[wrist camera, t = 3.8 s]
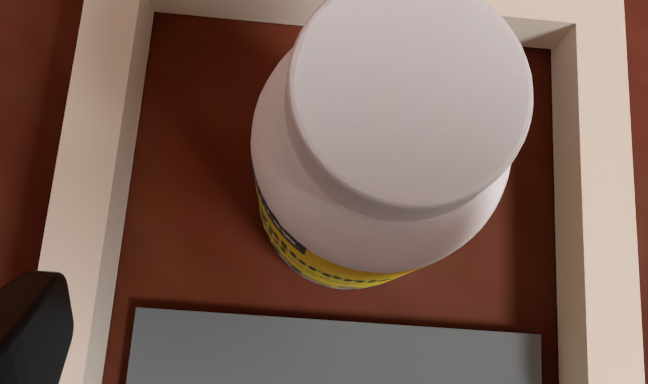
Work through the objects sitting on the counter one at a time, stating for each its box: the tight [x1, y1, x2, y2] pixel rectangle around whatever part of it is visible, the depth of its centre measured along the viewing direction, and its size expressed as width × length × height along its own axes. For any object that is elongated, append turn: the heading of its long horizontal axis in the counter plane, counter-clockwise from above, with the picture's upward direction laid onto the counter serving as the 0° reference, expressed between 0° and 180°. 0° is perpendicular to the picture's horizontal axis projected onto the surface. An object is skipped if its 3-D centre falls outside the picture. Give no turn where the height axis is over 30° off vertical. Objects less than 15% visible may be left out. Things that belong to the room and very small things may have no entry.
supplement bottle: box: [251, 0, 534, 289], centre depth 14 cm, size 5×5×10 cm
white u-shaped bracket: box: [38, 0, 645, 384], centre depth 18 cm, size 14×17×2 cm
